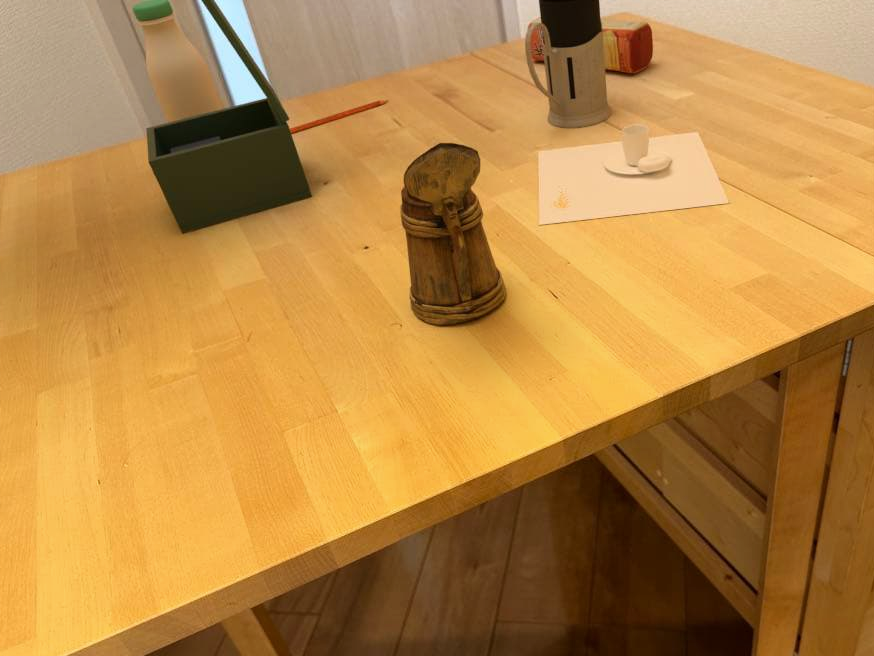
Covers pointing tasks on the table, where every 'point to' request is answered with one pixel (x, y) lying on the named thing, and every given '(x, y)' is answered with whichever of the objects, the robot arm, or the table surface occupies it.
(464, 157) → the wooden mug
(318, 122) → the pencil
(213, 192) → the chest
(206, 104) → the milk bottle
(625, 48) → the snack package
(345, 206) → the table surface
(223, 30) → the lid
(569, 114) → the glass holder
